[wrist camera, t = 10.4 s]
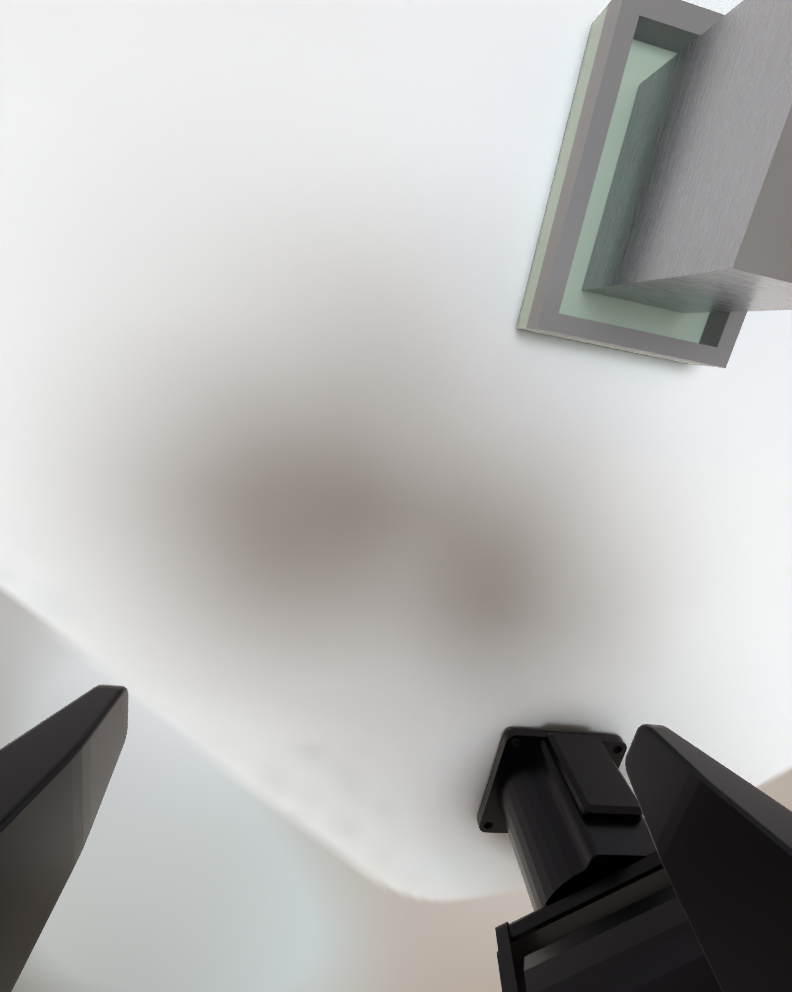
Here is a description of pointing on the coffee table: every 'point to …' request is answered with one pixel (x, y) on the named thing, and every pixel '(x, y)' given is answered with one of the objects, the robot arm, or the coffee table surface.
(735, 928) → the robot arm
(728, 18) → the billet
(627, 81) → the grey green tray
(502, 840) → the coffee table surface
